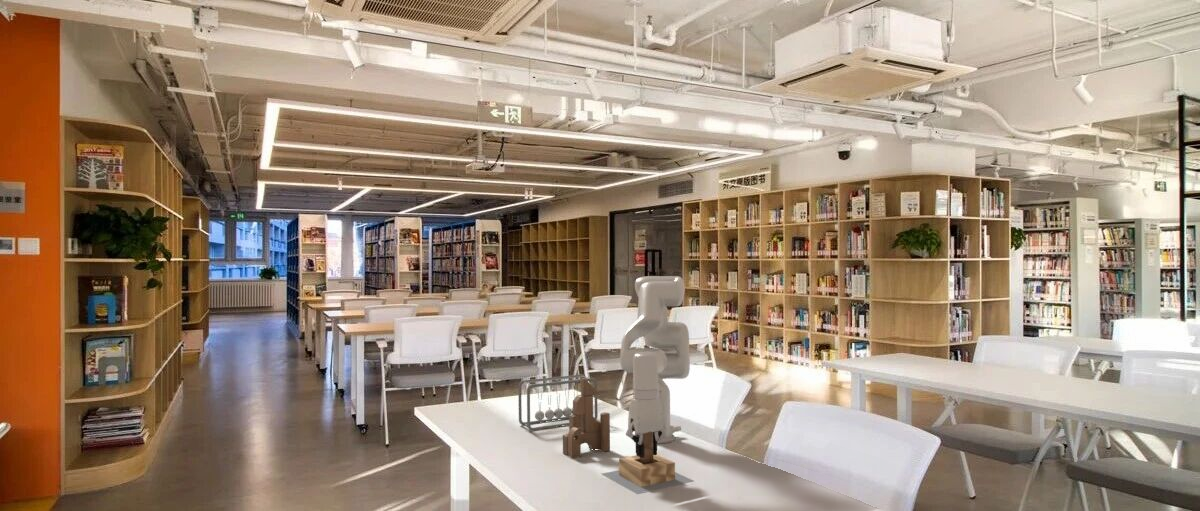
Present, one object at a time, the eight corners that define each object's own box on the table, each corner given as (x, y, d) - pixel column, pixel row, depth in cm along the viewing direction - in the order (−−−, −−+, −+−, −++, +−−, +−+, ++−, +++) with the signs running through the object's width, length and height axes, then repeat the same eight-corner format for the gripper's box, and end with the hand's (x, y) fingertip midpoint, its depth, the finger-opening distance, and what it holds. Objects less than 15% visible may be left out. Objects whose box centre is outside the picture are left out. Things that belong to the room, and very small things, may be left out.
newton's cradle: (527, 431, 253) (527, 385, 253) (518, 425, 263) (517, 380, 263) (598, 421, 267) (597, 377, 267) (586, 416, 276) (586, 373, 276)
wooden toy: (571, 458, 220) (570, 382, 219) (562, 453, 225) (561, 379, 225) (611, 451, 227) (611, 378, 227) (601, 446, 233) (601, 375, 233)
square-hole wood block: (651, 468, 207) (651, 452, 207) (675, 479, 197) (674, 462, 197) (619, 475, 201) (618, 458, 201) (641, 487, 191) (641, 469, 191)
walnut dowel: (648, 469, 202) (648, 416, 201) (656, 473, 198) (655, 419, 198) (637, 471, 200) (637, 418, 199) (645, 475, 196) (644, 421, 196)
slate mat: (655, 464, 212) (655, 462, 212) (694, 482, 195) (694, 480, 195) (601, 475, 202) (601, 473, 202) (637, 495, 185) (637, 493, 185)
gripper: (661, 388, 206) (662, 447, 206) (615, 395, 198) (616, 456, 198) (676, 393, 200) (676, 454, 200) (629, 399, 191) (629, 463, 191)
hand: (646, 454), depth 199 cm, fingers closed on walnut dowel, 4 cm apart
